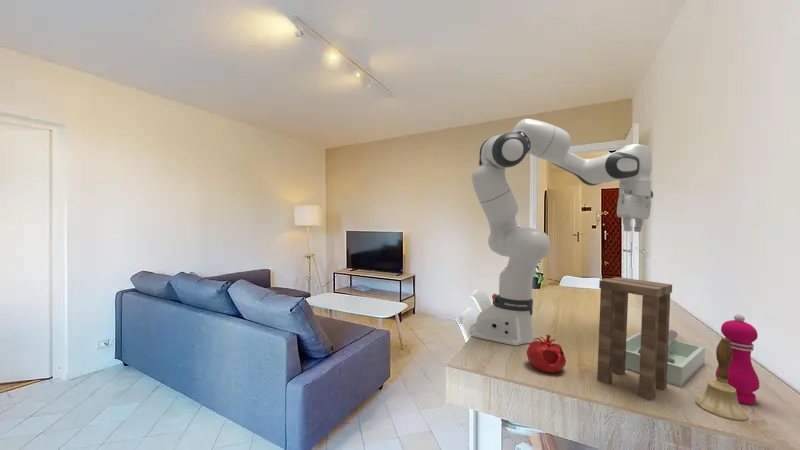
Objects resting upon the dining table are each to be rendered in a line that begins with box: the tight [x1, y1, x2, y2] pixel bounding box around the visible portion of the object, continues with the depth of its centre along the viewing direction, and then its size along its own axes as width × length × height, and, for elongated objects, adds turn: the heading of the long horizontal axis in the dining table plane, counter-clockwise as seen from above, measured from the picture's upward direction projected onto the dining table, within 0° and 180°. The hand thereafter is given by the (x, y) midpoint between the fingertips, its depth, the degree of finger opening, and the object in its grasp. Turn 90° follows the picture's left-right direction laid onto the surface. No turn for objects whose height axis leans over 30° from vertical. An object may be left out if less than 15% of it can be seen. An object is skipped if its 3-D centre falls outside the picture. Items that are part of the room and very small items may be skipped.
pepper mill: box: [715, 314, 761, 406], centre depth 76 cm, size 7×7×20 cm
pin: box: [638, 329, 679, 364], centre depth 96 cm, size 17×8×2 cm, turn 125°
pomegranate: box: [526, 334, 567, 374], centre depth 88 cm, size 10×10×9 cm
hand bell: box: [694, 337, 749, 422], centre depth 70 cm, size 8×8×16 cm
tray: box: [625, 331, 706, 388], centre depth 94 cm, size 25×16×5 cm, turn 126°
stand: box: [596, 276, 673, 402], centre depth 81 cm, size 12×12×26 cm
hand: (632, 231), depth 110 cm, fingers open, 8 cm apart
